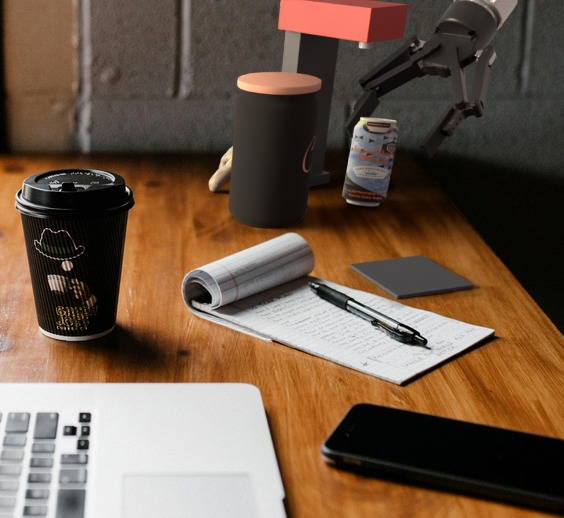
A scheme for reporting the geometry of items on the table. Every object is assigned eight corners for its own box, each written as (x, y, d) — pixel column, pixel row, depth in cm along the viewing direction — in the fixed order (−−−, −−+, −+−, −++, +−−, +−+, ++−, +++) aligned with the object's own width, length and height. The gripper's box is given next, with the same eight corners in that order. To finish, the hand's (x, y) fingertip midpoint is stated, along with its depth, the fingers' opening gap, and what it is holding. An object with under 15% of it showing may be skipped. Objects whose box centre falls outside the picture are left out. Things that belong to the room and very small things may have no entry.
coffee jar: (312, 230, 114) (329, 87, 105) (231, 229, 114) (242, 87, 105) (298, 205, 123) (313, 71, 114) (224, 205, 123) (233, 71, 114)
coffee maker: (301, 173, 137) (321, -8, 124) (388, 201, 125) (421, 3, 111) (257, 183, 133) (273, -4, 119) (342, 212, 120) (371, 8, 107)
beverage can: (338, 209, 122) (350, 121, 116) (345, 194, 128) (356, 110, 121) (384, 214, 120) (398, 125, 114) (388, 199, 126) (403, 114, 120)
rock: (224, 159, 145) (227, 115, 141) (255, 161, 144) (259, 117, 140) (206, 194, 128) (210, 145, 124) (241, 197, 127) (246, 148, 123)
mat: (420, 257, 105) (421, 254, 105) (473, 288, 97) (474, 284, 97) (349, 267, 103) (349, 264, 103) (397, 298, 95) (397, 295, 95)
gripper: (563, 47, 114) (469, 178, 115) (411, 26, 132) (329, 140, 132) (551, 5, 109) (452, 143, 109) (394, -10, 126) (309, 109, 127)
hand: (384, 142), depth 121 cm, fingers open, 13 cm apart
